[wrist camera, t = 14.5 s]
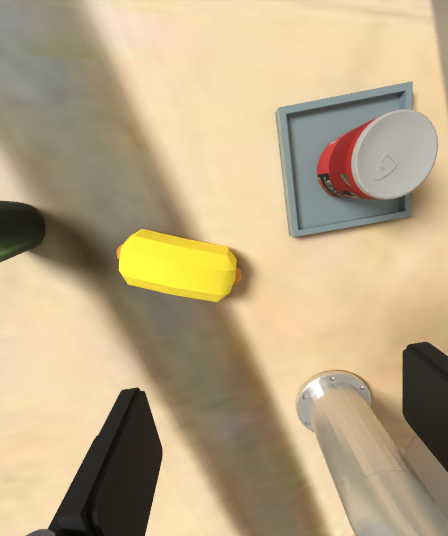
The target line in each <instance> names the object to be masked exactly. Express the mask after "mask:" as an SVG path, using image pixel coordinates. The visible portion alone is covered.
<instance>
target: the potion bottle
mask: <svg viewBox="0 0 448 536" xmlns="http://www.w3.org/2000/svg"><path fill="white" fill-rule="evenodd" d="M44 235H45V226H44V222H43V219H42V217H41V216H40V215H39V214H38V212H37V211H36V210H35V209H33V208H32V207H30V206H29V205H27V204H24V203H20V202H10V201H0V262H2V261H5V260H7V259H9V258H11V257H14V256H16V255H18V254H21V253H23V252H25V251H27V250H30V249H32V248H34V247H35V246H37V245H39V244H40V243H41V241H42V240H43V238H44Z"/></svg>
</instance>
